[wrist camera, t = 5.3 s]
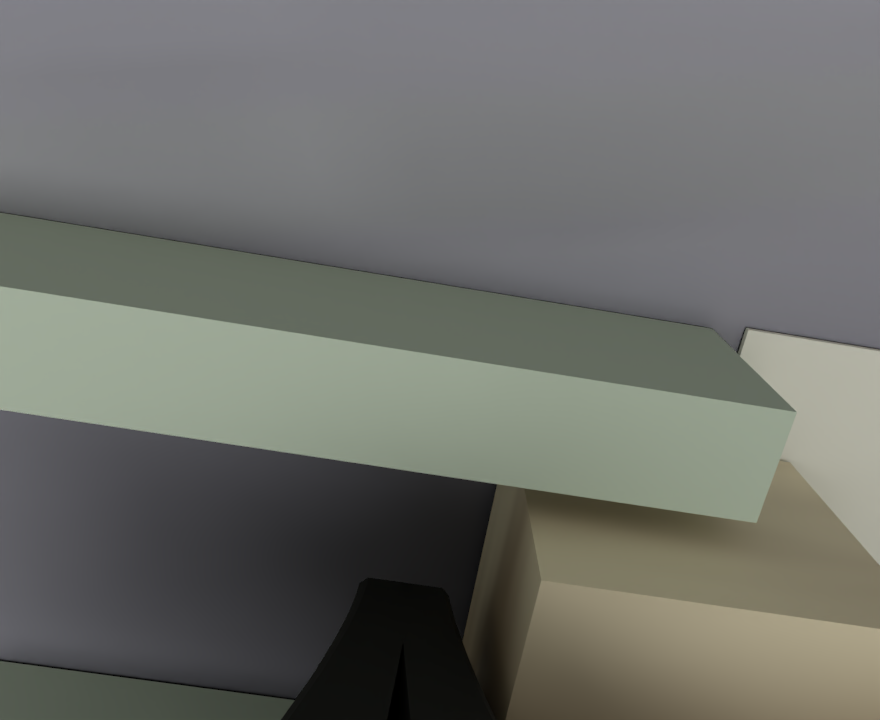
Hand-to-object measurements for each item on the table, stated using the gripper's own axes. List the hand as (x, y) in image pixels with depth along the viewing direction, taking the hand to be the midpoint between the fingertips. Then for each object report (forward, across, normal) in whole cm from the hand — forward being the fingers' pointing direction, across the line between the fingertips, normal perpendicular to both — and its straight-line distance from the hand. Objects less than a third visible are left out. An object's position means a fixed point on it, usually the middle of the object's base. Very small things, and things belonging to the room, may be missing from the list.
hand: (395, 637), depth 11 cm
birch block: (+2, -4, 0) cm, 4 cm away
